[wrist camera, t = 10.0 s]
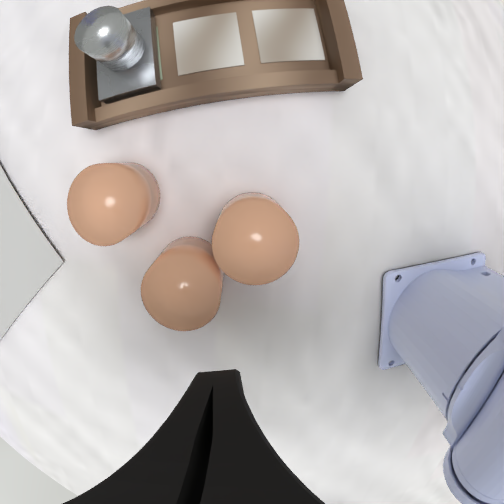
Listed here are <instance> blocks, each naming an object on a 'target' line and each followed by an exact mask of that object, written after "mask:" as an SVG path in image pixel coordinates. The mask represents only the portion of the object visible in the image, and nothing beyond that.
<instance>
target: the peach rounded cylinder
mask: <svg viewBox="0 0 504 504" xmlns="http://www.w3.org/2000/svg"><path fill="white" fill-rule="evenodd" d="M223 276H224V272H223V271H222V270H221V268H220V267H219V266H218V264H217V262H216V260H215V258H214V255H213V251H212V244H210V243H209V242H207V241H206V240H203V239H201V238H197V237H183V238H179V239H177V240H175V241H173V242H172V243H170V244H169V245H168V246H167V247H166V248H165V249H164V251H163V252H162V253H161V254H160V255H159V257H158V258H157V259H156V260H155V262H154V263H153V264H152V265H151V266H150V268H149V269H148V270H147V272H146V273H145V275H144V277H143V280H142V284H141V297H142V301H143V304H144V306H145V308H146V310H147V311H148V313H149V314H150V315H151V316H152V318H154V319H155V320H156V321H157V322H158V323H160V324H161V325H163V326H165V327H167V328H170V329H173V330H178V331H191V330H195V329H198V328H201V327H203V326H204V325H206V324H207V323H209V322H210V321H211V320H212V319H213V318H214V316H215V315H216V313H217V311H218V309H219V306H220V300H221V292H222V284H223Z"/></svg>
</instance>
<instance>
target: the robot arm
mask: <svg viewBox="0 0 504 504" xmlns="http://www.w3.org/2000/svg"><path fill="white" fill-rule="evenodd" d="M472 259H473V260H472ZM485 260H486V256H485V254H484V253H482V252H478V253H474V254H470V255H465V256H460V257H456V258H451V259H446V260H442V261H437V262H432V263H427V264H422V265H417V266H412V267H407V268H402V269H397V270H391V271H388V272H387V273H385V275H384V277H383V301H382V322H381V337H380V350H379V361H378V366H379V367H380V369H382V370H384V369H388V368H392V367H395V366H399V365H402V364H405V363H406V364H407V366H408V367H409V368H410V370H411V371H412V372H413V374H414V375H415V376H416V378H417V379H418V381H419V382H420V383H421V385H422V386H423V387H424V389H425V390H426V391H427V393H428V394H429V396H430V397H431V398H432V400H433V401H434V403H435V404H436V405H437V407H438V408H439V410H440V411H441V412H442V414H443V415H444V417H445V418H446V420H447V421H448V424H447V426H446V428H445V430H444V431H443V435H444V436H445V438H446V439H447V441H448V442H449V444H450V447H449V449H448V451H447V452H446V455H445V458H444V463H443V472H444V476H445V480H446V482H447V485H448V487H449V489H450V490H451V492H452V494H453V495H454V496H455V497H456V499H457V500H458V501H460V502H461V503H462V504H504V276H503V275H501V274H499V273H497V272H495V271H494V270H492V269H490V268H488V267H486V266H485ZM471 261H472V263H471ZM397 275H399V278H398V279H397V280H395V277H396V276H397ZM390 361H391V362H390ZM389 362H390V363H389ZM63 504H325V503H324V502H323V501H321V500H320V499H319V498H318V497H317V496H316V495H315V494H314V493H312V492H311V491H310V490H309V489H308V488H307V487H306V486H305V485H304V484H303V483H302V482H301V481H300V480H299V479H298V477H297V476H296V475H295V474H294V473H293V472H292V471H291V470H290V469H289V468H288V467H287V465H286V464H285V463H284V462H283V461H282V459H281V458H280V457H279V456H278V454H277V453H276V451H275V450H274V449H273V447H272V446H271V445H270V443H269V442H268V440H267V439H266V437H265V435H264V434H263V432H262V431H261V429H260V427H259V425H258V424H257V422H256V420H255V418H254V416H253V414H252V412H251V410H250V408H249V406H248V403H247V401H246V399H245V396H244V392H243V386H242V381H241V376H240V372H239V371H238V370H236V369H233V370H223V371H212V372H199V373H197V375H196V376H195V377H194V379H193V381H192V382H191V384H190V386H189V387H188V389H187V391H186V392H185V394H184V395H183V397H182V398H181V400H180V401H179V403H178V404H177V406H176V407H175V408H174V410H173V411H172V413H171V414H170V416H169V417H168V418H167V420H166V421H165V422H164V423H163V424H162V426H161V427H160V428H159V429H158V431H157V432H156V433H155V434H154V436H153V437H152V438H151V439H150V440H149V441H148V442H147V443H146V444H145V445H144V447H143V448H142V449H141V450H140V451H139V452H138V453H137V454H136V455H134V456H133V457H132V458H131V459H130V460H129V461H128V462H127V463H126V464H124V465H123V466H122V467H121V468H120V469H118V470H117V471H116V472H115V473H113V474H112V475H111V476H110V477H108V478H107V479H105V480H104V481H102V482H101V483H99V484H98V485H96V486H95V487H93V488H92V489H90V490H88V491H87V492H85V493H83V494H81V495H79V496H78V497H76V498H74V499H72V500H70V501H67V502H65V503H63Z"/></svg>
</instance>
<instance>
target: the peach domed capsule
mask: <svg viewBox="0 0 504 504" xmlns="http://www.w3.org/2000/svg"><path fill="white" fill-rule="evenodd" d="M298 249H299V236H298V231H297V228H296V226H295V224H294V222H293V220H292V219H291V217H290V216H289V215H288V214H287V213H286V212H285V211H284V210H283V208H282V207H281V206H280V205H279V204H278V203H277V202H276V201H275V200H273V199H272V198H270V197H269V196H266V195H264V194H261V193H244V194H241V195H238V196H236V197H234V198H233V199H231V200H230V201H229V202H228V203H227V204H226V205H225V206H224V208H223V209H222V211H221V213H220V216H219V218H218V221H217V223H216V226H215V229H214V232H213V236H212V251H213V255H214V258H215V260H216V262H217V264H218V266H219V267H220V268H221V270H222V271H223V272H224V273H225V274H226V275H227V276H229V277H230V278H232V279H233V280H235V281H237V282H240V283H243V284H248V285H262V284H267V283H270V282H273V281H275V280H277V279H278V278H280V277H281V276H283V275H284V274H285V273H286V272H287V271H288V270H289V269H290V267H291V266H292V265H293V263H294V261H295V259H296V256H297V253H298Z"/></svg>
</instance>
